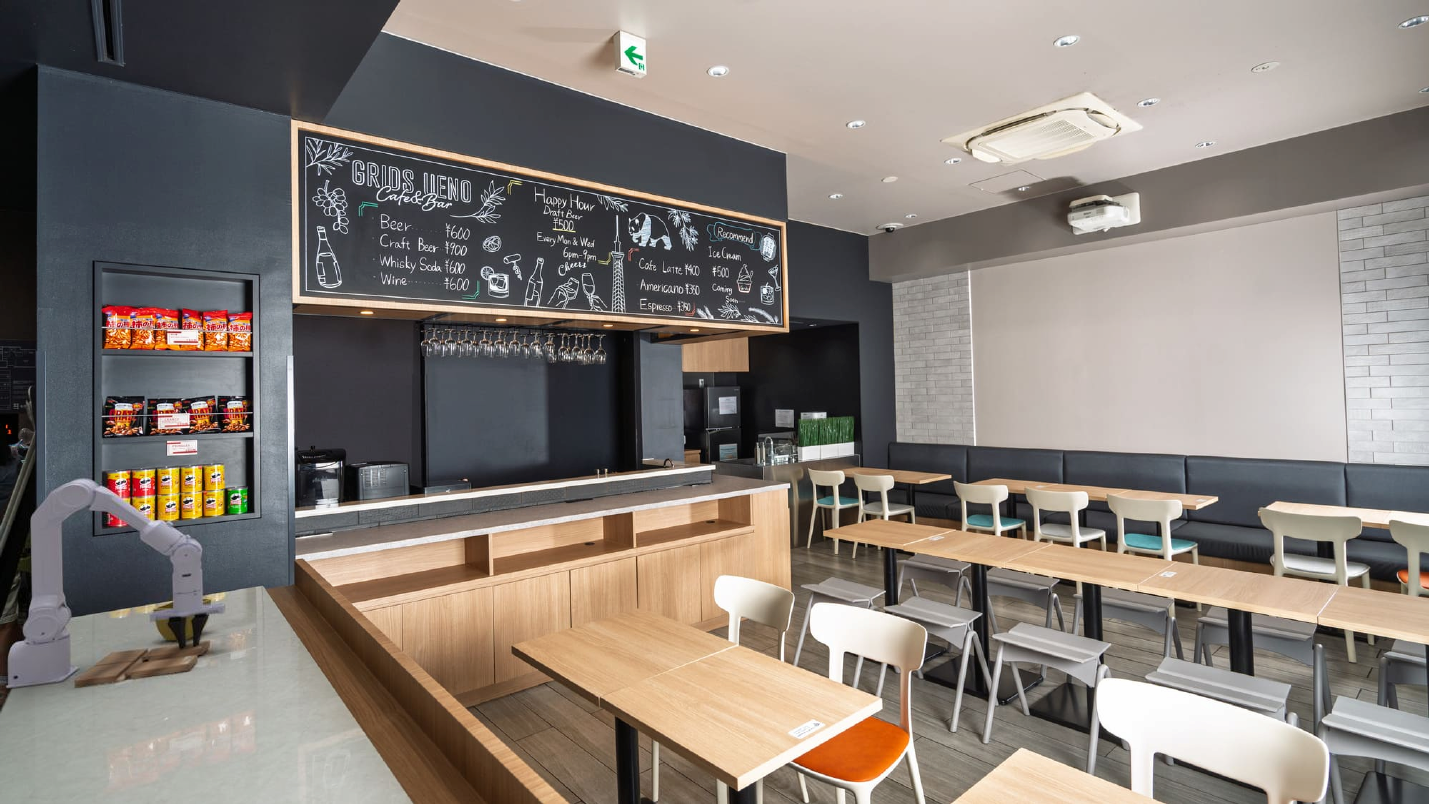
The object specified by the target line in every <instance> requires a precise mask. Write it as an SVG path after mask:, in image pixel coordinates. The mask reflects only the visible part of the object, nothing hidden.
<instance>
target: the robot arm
mask: <svg viewBox="0 0 1429 804" xmlns="http://www.w3.org/2000/svg"><path fill="white" fill-rule="evenodd" d="M87 506H90V507H89V509H88V511H95V512H97V511H98V512H107V513H109V514H110V515H112V516H114V517H116V518H117V519H118V520H121V521H123V522H124V523H125V524H127V525H129V526H130V527H132V528H134V529H135V530H136V531H138V532H139V538H140V541H142V542H144V543H146V544H147V545H149V546H150V547H152V548H153V549H154V550H156V551H157V552H159V553H161V554H162V555H164V556H169V560H170V563H172V565H173V573H172V602H173V609H168V610H162V611H155V612H154V611H152V612H151V613H150V614H149V623H153V622H156V621H157V620H165V619H169V622H168V623H167V625H168V627H169V628H170V629H171V630H172V632H173V633H174V635H175V637H176V639H177V640H176V641H177V645H179V648H180V649H183V648H184V647H185V646H186V644H187V640H186V635H185V626H186V617H191V616H195V617H194V618H193V619H192V620H191V623H192V628H193V637H192V643H193V647H196V646H198V645H199V642H201V641H200V640H201V636H202V633H203V631H204V628H205V627H204V625H205V623H206V621H207V619H208V620H209V617H210V615H215V614H218V615H223V614H224V613H225V612H226V603H219V604H215V603H214V604H212V603H211V605H203V599H204V595H203V594H204V587H203V586H204V585H203V569H202V561H201V560H202V554H203V546H202V545H201V543H200V542H198V540H197V539H194V538H192V536H190V535H189V534H183V532H181V531H179V530H178V529H176V528H175V527H174V523H173V522H171V521H170V520H167V522H166V521H164V520H163V519H157V520H152V519H150V517H148V516H146V515H145V514H144V513H142V511H140V510H138V509H137V508H135V507H134V506H133V505H131V504H130V503H129V502H127V500H124V499H123V498H122V497H120V496H119V495H118V494H116V493H115V492H113V491H112V490H110V489H108V488H107V487H105V486H103V485H100V486H99V484H97V482H96V481H94V480H92V479H90V478H76V479H74V480H72V481H70V482H67V483H66V482H65V483H64V484H62V485H61V486H59V487H57V488H55V489H54V490H52V491H51V492H50V493H49V494H48V495H47V497H46V498H45V499H44V501H43V502H42V503H41V504H40V505H39V506H38V507H37V509H36V510H35V511H34V512H33V513H32V515H31V517H30V549H31V550H30V554H31V557H30V558H31V601H30V605H29V609H28V617H27V619H26V621H25V622H24V624H23V627H22V631H23V632H22V633H23V635H24V637H25V639H24V640H21V641H16V642H15V643H13V644H12V646H11V647H10V650H9V652H8V657H7V677H8V678H7V681H8V682H7V683H8V684H7V685H6V689H10V688H12V689H13V688H18V687H19V688H20V687H27V686H28V687H29V686H34V685H42V684H52V683H58V682H63V681H64V680H66V679H67V678H68V677H70V676H72V675H73V674H74V673H75V672H77V671H78V670H79V669H80V667H79V666H73V667H72V666H71V660H72V659H71V631H70V630H69V629H68V628H67V627H66V626H67V625H68V624H69V622H70V621H71V618H72V610H71V609H70V608H69V606H67V603H66V596H65V593H64V588H63V587H64V585H63V582H64V581H63V579H64V578H63V542H62V540H63V536H62V535H63V533H62V532H63V531H62V530H63V529H62V523H63V521H65V520H66V519H68V517H70V516H72V515H73V514H74V513H75V512H77V511H80V510H82V509H85V508H86V507H87ZM207 622H208V621H207ZM206 624H207V623H206ZM205 626H206V625H205Z"/></svg>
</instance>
